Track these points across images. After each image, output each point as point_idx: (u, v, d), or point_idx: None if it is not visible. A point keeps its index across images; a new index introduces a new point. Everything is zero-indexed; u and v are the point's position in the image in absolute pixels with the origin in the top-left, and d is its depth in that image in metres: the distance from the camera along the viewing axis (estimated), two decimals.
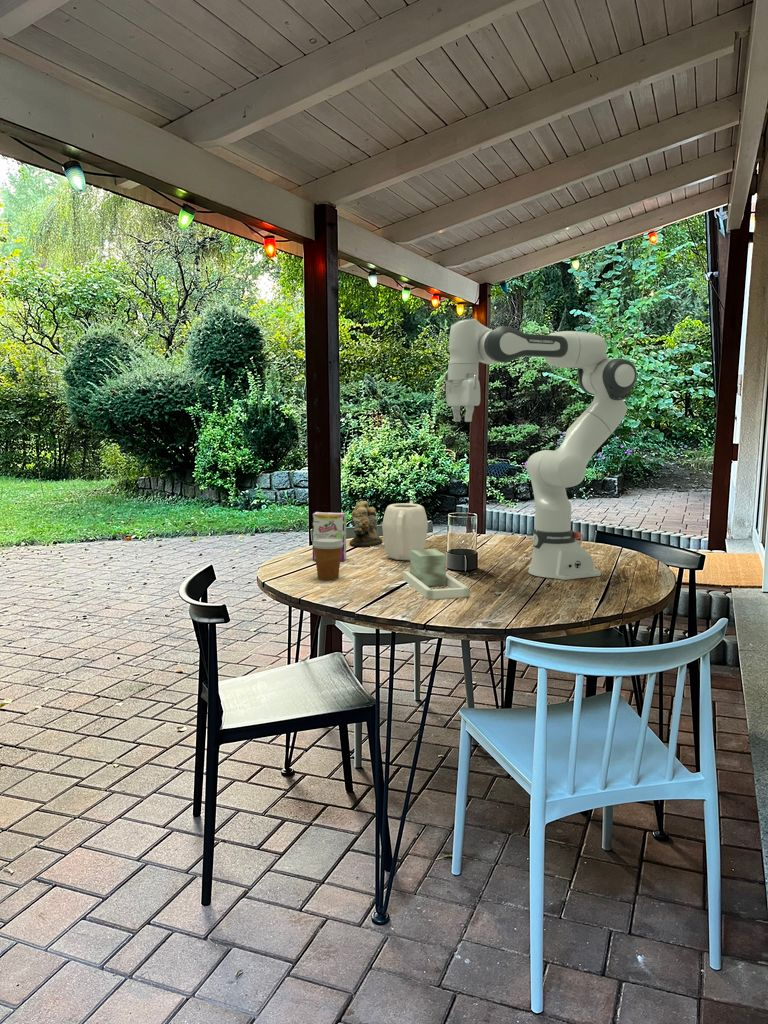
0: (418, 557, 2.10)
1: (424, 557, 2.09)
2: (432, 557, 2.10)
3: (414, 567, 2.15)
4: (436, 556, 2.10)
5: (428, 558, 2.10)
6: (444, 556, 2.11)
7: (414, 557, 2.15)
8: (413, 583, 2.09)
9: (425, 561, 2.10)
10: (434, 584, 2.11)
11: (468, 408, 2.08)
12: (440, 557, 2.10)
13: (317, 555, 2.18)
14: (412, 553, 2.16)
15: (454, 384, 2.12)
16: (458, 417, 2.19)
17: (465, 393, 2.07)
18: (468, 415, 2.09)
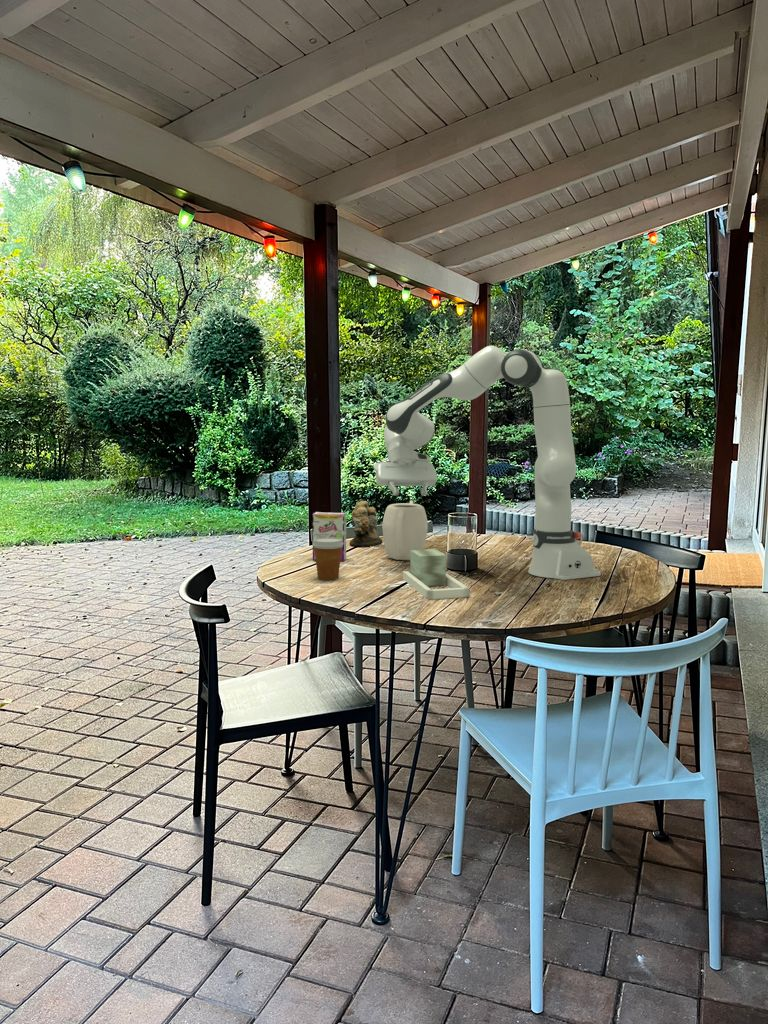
0: (418, 557, 2.10)
1: (424, 557, 2.09)
2: (432, 557, 2.10)
3: (414, 567, 2.15)
4: (436, 556, 2.10)
5: (428, 558, 2.10)
6: (444, 556, 2.11)
7: (414, 557, 2.15)
8: (413, 583, 2.09)
9: (425, 561, 2.10)
10: (434, 584, 2.11)
11: (388, 486, 2.31)
12: (440, 557, 2.10)
13: (317, 555, 2.18)
14: (412, 553, 2.16)
15: None
16: (421, 491, 2.32)
17: None
18: (392, 490, 2.30)
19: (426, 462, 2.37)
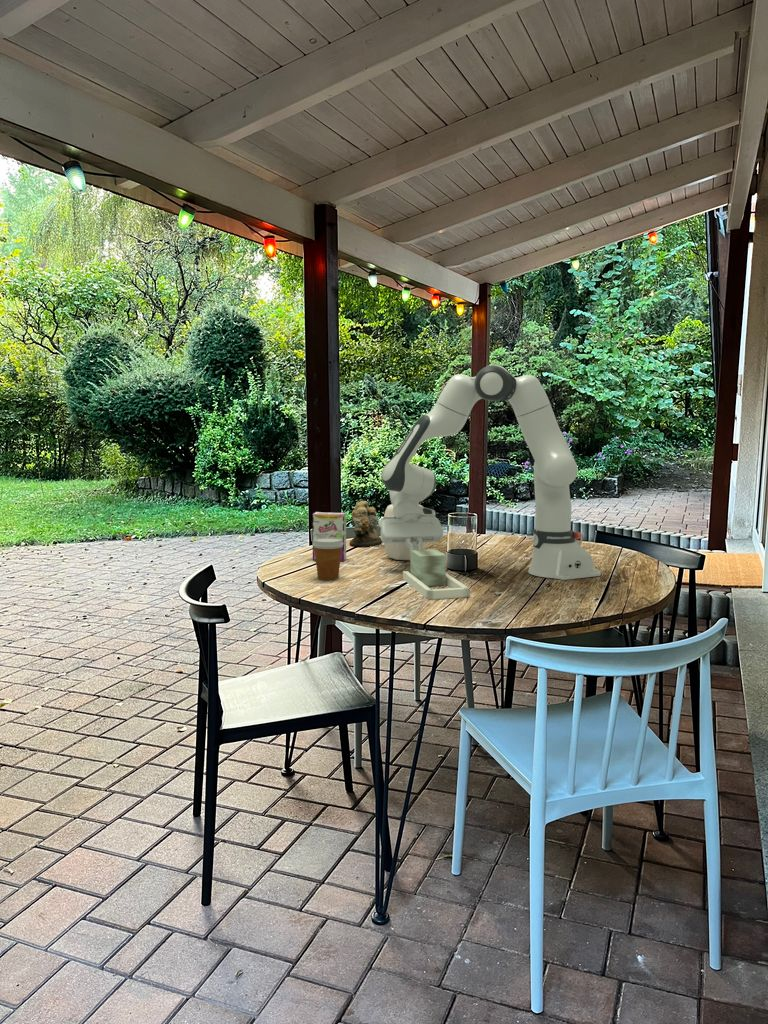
0: (418, 557, 2.10)
1: (424, 557, 2.09)
2: (432, 557, 2.10)
3: (414, 567, 2.15)
4: (436, 556, 2.10)
5: (428, 558, 2.10)
6: (444, 556, 2.11)
7: (414, 557, 2.15)
8: (413, 583, 2.09)
9: (425, 561, 2.10)
10: (434, 584, 2.11)
11: (405, 543, 2.29)
12: (440, 557, 2.10)
13: (317, 555, 2.18)
14: (412, 553, 2.16)
15: None
16: None
17: None
18: (409, 547, 2.28)
19: (432, 517, 2.33)
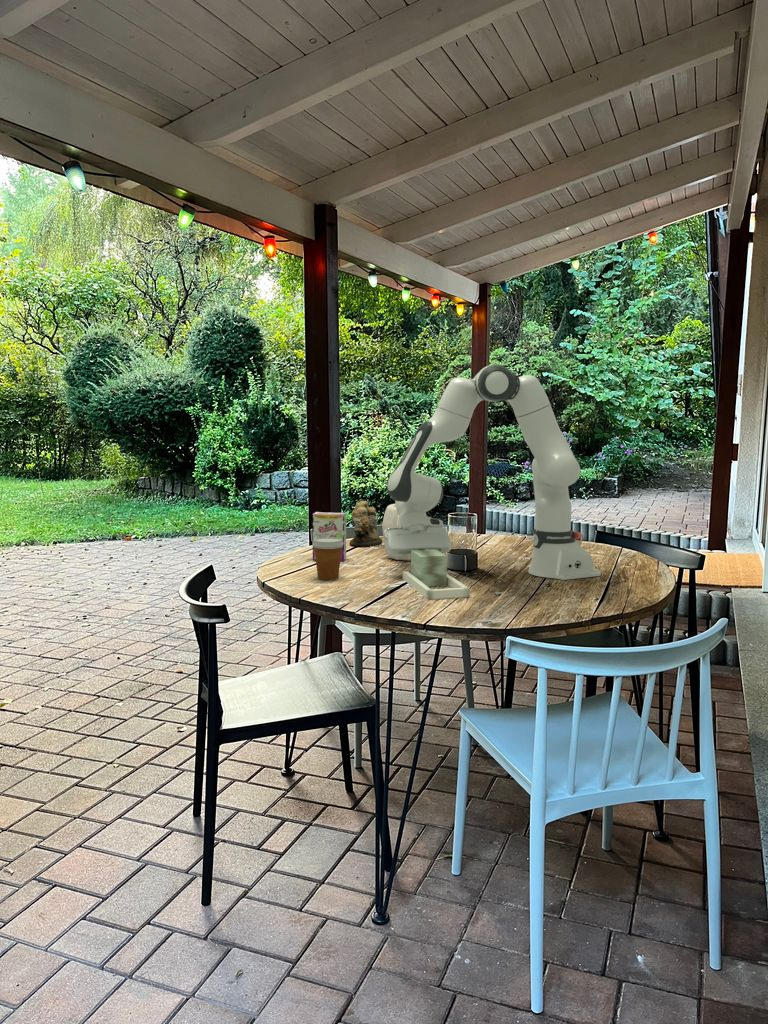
0: (419, 557, 2.10)
1: (425, 557, 2.09)
2: (433, 557, 2.09)
3: (414, 568, 2.14)
4: (437, 556, 2.10)
5: (429, 558, 2.09)
6: (445, 556, 2.10)
7: (415, 557, 2.14)
8: (413, 583, 2.09)
9: (426, 561, 2.09)
10: (435, 585, 2.10)
11: None
12: (441, 557, 2.10)
13: (317, 555, 2.18)
14: (413, 553, 2.16)
15: None
16: None
17: None
18: None
19: (439, 528, 2.26)
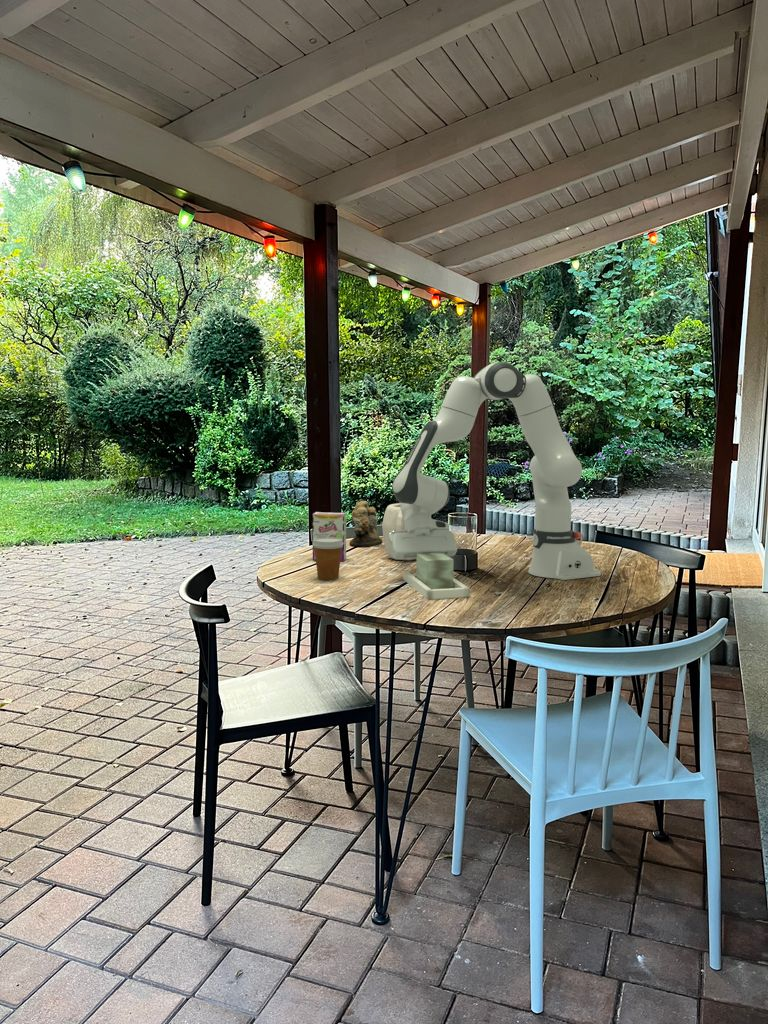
0: (425, 561, 2.04)
1: (431, 561, 2.03)
2: (439, 561, 2.04)
3: (420, 572, 2.09)
4: (443, 560, 2.04)
5: (435, 563, 2.03)
6: (451, 560, 2.04)
7: (420, 561, 2.08)
8: (413, 583, 2.09)
9: (432, 566, 2.03)
10: None
11: None
12: (447, 561, 2.04)
13: (317, 555, 2.18)
14: (418, 557, 2.10)
15: None
16: None
17: None
18: None
19: (445, 530, 2.21)
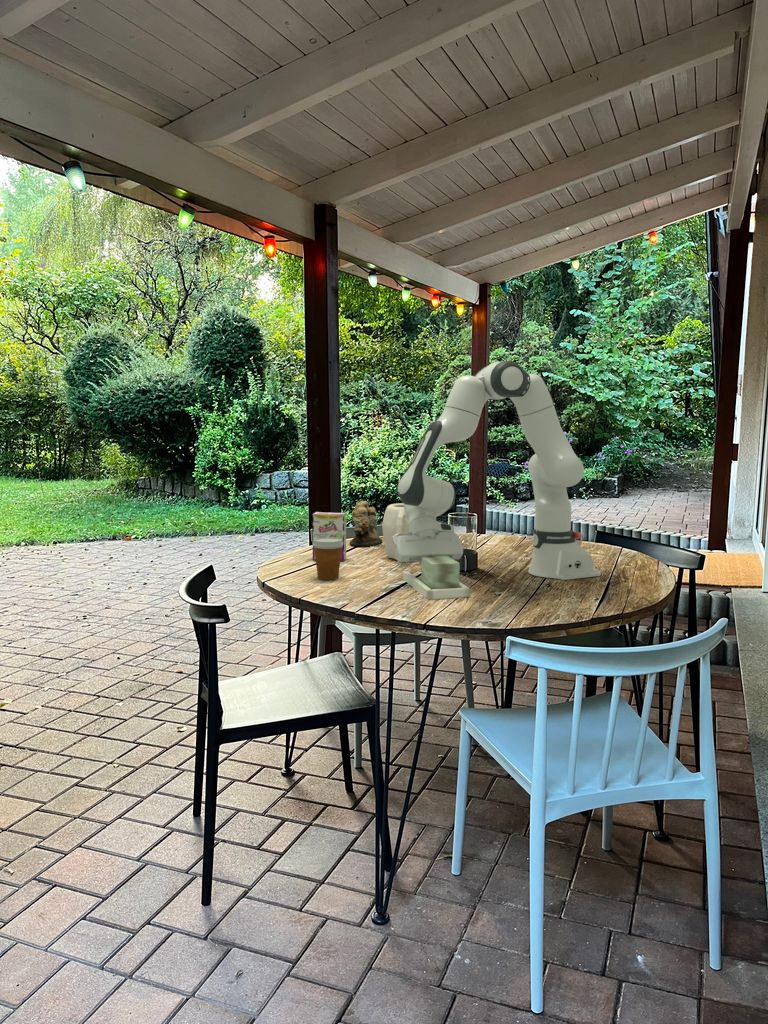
0: (430, 565, 1.99)
1: (436, 565, 1.98)
2: (445, 565, 1.99)
3: (425, 576, 2.04)
4: (449, 564, 1.99)
5: (441, 566, 1.98)
6: (457, 564, 2.00)
7: (425, 565, 2.03)
8: (413, 583, 2.09)
9: (437, 569, 1.98)
10: None
11: None
12: (453, 565, 1.99)
13: (317, 555, 2.18)
14: (423, 561, 2.05)
15: None
16: None
17: None
18: None
19: (450, 533, 2.16)
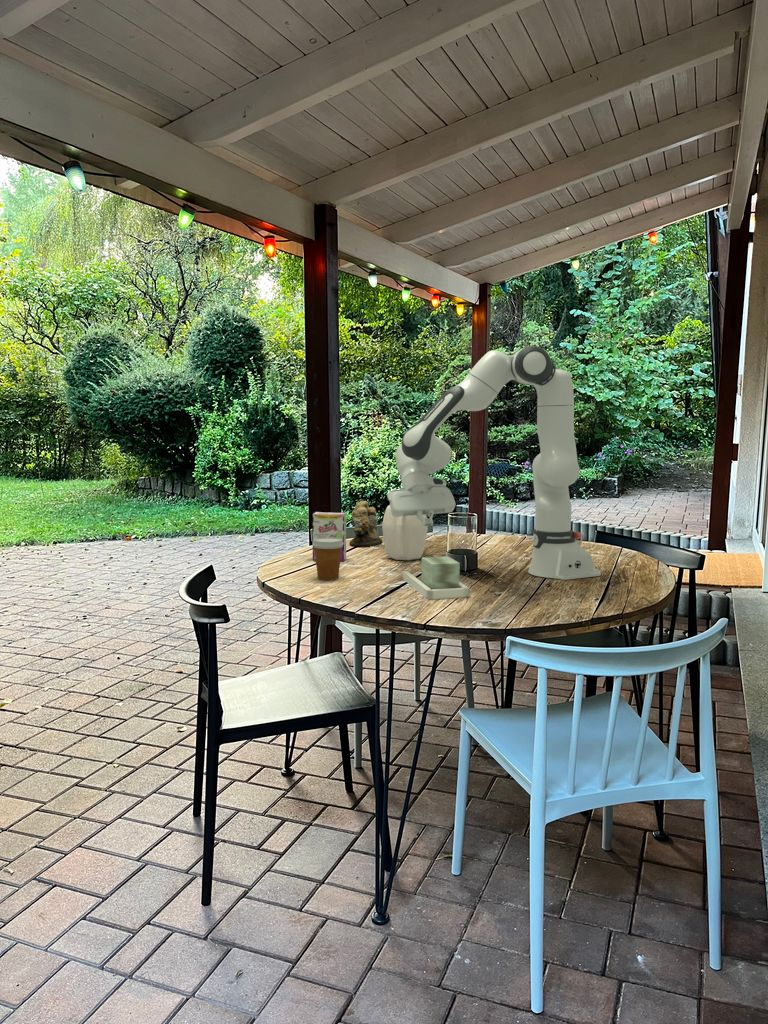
0: (430, 565, 1.99)
1: (436, 565, 1.98)
2: (445, 565, 1.99)
3: (425, 576, 2.04)
4: (449, 564, 1.99)
5: (441, 566, 1.98)
6: (457, 564, 2.00)
7: (425, 565, 2.03)
8: (413, 583, 2.09)
9: (437, 569, 1.98)
10: None
11: None
12: (453, 565, 1.99)
13: (317, 555, 2.18)
14: (423, 561, 2.05)
15: None
16: None
17: None
18: (421, 520, 2.18)
19: (442, 487, 2.23)
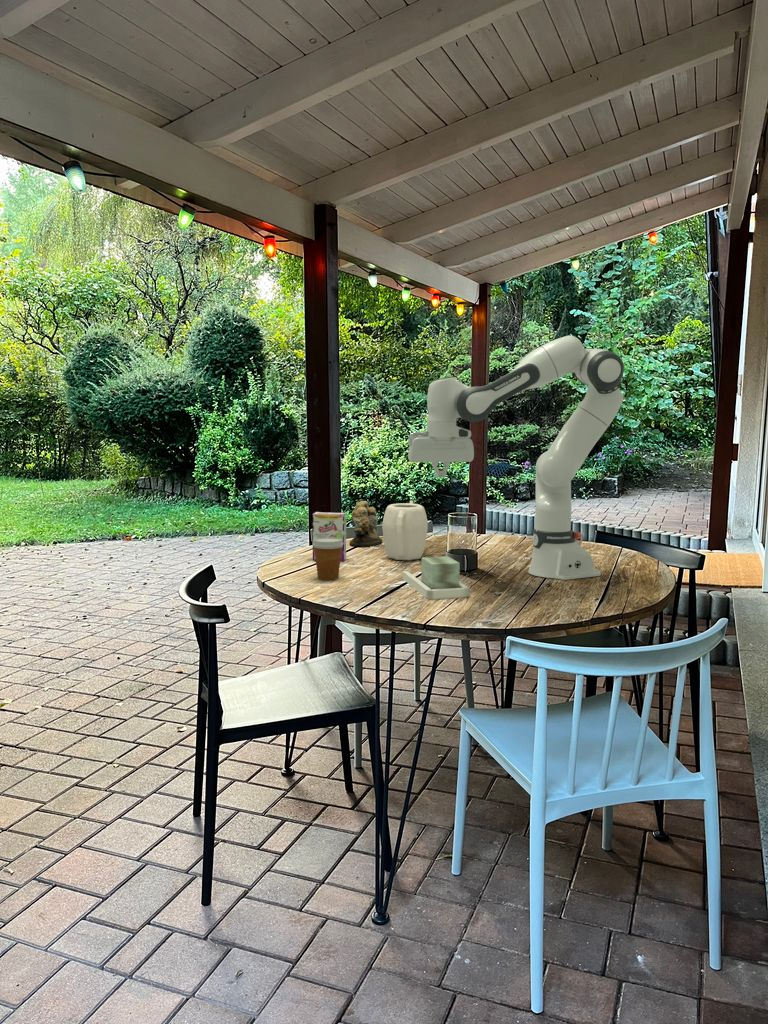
0: (430, 565, 1.99)
1: (436, 565, 1.98)
2: (445, 565, 1.99)
3: (425, 576, 2.04)
4: (449, 564, 1.99)
5: (441, 566, 1.98)
6: (457, 564, 2.00)
7: (425, 565, 2.03)
8: (413, 583, 2.09)
9: (437, 569, 1.98)
10: None
11: (432, 464, 2.19)
12: (453, 565, 1.99)
13: (317, 555, 2.18)
14: (423, 561, 2.05)
15: None
16: None
17: None
18: (435, 471, 2.19)
19: (466, 440, 2.18)
